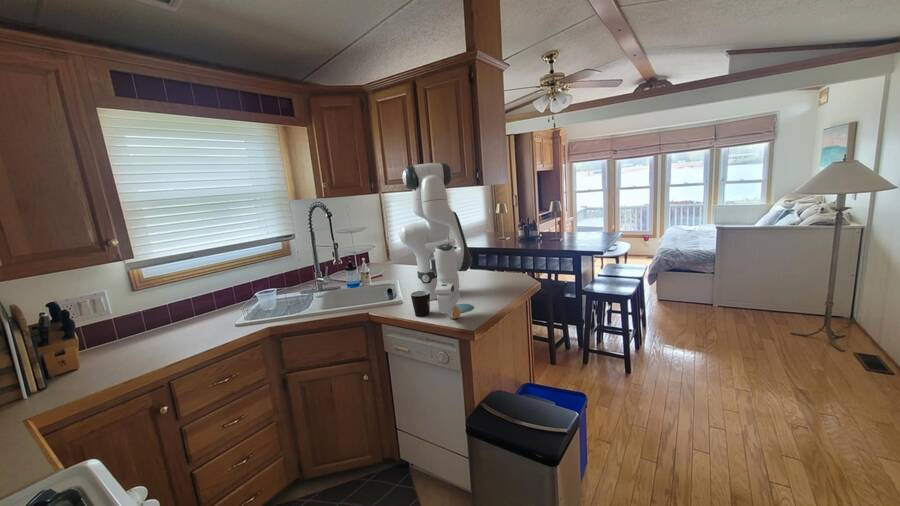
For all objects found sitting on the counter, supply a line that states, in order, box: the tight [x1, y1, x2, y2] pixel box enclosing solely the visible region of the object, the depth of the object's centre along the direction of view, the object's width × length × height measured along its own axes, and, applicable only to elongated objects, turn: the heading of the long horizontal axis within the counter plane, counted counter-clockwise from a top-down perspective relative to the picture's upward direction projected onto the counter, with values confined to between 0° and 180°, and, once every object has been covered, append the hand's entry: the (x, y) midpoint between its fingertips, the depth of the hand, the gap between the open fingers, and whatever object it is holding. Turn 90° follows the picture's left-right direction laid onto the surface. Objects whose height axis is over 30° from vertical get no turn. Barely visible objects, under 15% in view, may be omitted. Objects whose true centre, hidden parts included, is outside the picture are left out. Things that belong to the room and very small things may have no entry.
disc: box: [455, 303, 474, 314], centre depth 167 cm, size 12×12×1 cm
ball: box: [447, 306, 461, 320], centre depth 155 cm, size 6×6×6 cm
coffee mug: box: [410, 290, 431, 318], centre depth 164 cm, size 12×9×10 cm
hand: (451, 316), depth 151 cm, fingers closed
